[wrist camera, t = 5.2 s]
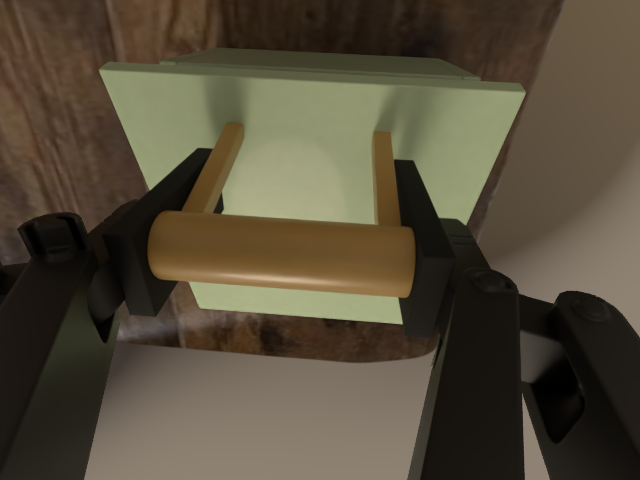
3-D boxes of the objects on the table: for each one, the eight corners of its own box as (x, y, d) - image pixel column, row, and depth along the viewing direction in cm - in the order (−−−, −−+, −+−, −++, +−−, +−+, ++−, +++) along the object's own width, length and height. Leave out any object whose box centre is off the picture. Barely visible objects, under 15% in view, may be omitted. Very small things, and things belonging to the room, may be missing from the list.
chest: (215, 47, 25) (158, 60, 17) (440, 58, 24) (481, 77, 17) (236, 236, 33) (203, 299, 26) (403, 247, 33) (418, 316, 25)
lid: (108, 61, 14) (-69, 199, 8) (520, 82, 13) (642, 248, 7) (202, 299, 26) (158, 420, 20) (419, 316, 25) (436, 446, 20)
